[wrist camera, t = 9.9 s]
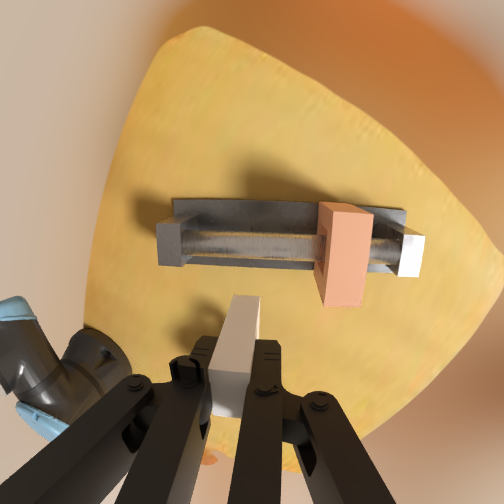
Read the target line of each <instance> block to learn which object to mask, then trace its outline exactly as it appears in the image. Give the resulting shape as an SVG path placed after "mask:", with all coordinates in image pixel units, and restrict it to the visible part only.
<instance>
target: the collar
mask: <svg viewBox="0 0 504 504" xmlns="http://www.w3.org/2000/svg"><path fill="white" fill-rule="evenodd" d="M373 217H374V214H372V213H369V212H367V211H365V210H363V209H360V208H358V207H356V206H354V205H351V204H348V203H334V202H320V201H319V209H318V225H317V235H327V243H326V254H325V262H315V263H314V277H315V280H316V283H317V286H318V290H319V293H320V296H321V300H322V303H323V306H324V307H361V302H362V297H363V291H364V285H365V279H366V273H367V267H368V260H369V253H370V245H371V236H372V227H373Z"/></svg>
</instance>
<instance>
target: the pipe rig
mask: <svg viewBox="0 0 504 504" xmlns="http://www.w3.org/2000/svg"><path fill="white" fill-rule="evenodd" d="M173 203H174V216H172V217H170V218H167V219H165V220H162V221H160V222H158V223H156V237H157V251H158V263H159V265H162V266H176V267H182V266H183V265H184V264H201V265H218V266H237V267H256V268H277V269H299V270H314V263H315V262H325V254H326V243H327V235H317V225H318V209H319V203H311V202H292V201H269V200H230V199H175V200H173ZM356 207H358V208H360V209H363V210H365V211H367V212H369V213H372V214H374V217H373V227H372V236H371V245H370V253H369V260H368V267H367V272H380V273H394V274H395V275H397V276H401V277H418V275H419V270H420V265H421V259H422V254H423V248H424V241H425V236H424V235H422V234H420V233H418V232H416V231H414V230H412V229H410V228H407V227H405V221H406V211H405V210H397V209H387V208H377V207H366V206H356Z"/></svg>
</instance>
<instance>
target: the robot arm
mask: <svg viewBox="0 0 504 504" xmlns="http://www.w3.org/2000/svg"><path fill="white" fill-rule="evenodd" d="M259 315H260V296H245V295H233V298H232V301H231V304H230V307H229V310H228V313H227V315H226V318H225V321H224V324H223V327H222V330H221V333H220V336H219V337H211V336H202V337H201V338H200V339H199V340H197V341H196V343H195V346H194V349H193V350H192V352H191V354H190V356H188V355H184V356H179V357H176V358H175V359H173V360H172V361H171V362H170V363H169V366H170V371H171V376H172V381H170V382H166V383H152V382H151V381H150V379H149V378H148V377H146V376H145V375H141V374H133V375H132V368H131V365H130V363H129V361H128V359H127V357H126V355H125V354H124V353H123V351H122V350H121V349H120V348H119V346H118V345H117V344H116V343H115V342H114V341H112V340H111V339H110V338H109V337H107V336H106V335H104V334H103V333H101V332H99V331H97V330H94V329H89V328H84V329H81V330H79V331H78V332H77V333H76V334H75V335H73V336H72V338H71V339H70V341H69V346H68V347H67V349H66V351H65V353H64V355H63V357H62V359H61V360H59V358H58V356H57V355H56V353H55V351H54V350H53V348H52V346H51V345H50V343H49V341H48V340H47V338H46V336H45V334H44V333H43V331H42V329H41V327H40V325H39V323H38V321H37V317H36V316H35V315H34V314H33V312H32V310H31V308H30V307H29V305H28V303H27V301H26V300H25V299H24V298H23V297H21V296H14V297H11V298H8V299H6V300H3V301H0V395H2V396H6V395H8V394H9V393H10V392H11V391H13V393H14V394H15V395H16V397H17V398H18V400H19V401H18V402H17V403H16V410H17V412H18V413H19V415H20V416H21V418H22V419H23V420H24V421H25V422H26V423H27V424H28V425H29V426H30V427H31V428H33V429H34V430H35V431H36V432H37V433H38V434H40V435H41V436H42V437H44V438H45V439H47V440H48V441H50V443H49V444H48V445H47V446H46V447H44V448H43V449H42V450H41V451H40V452H38V453H37V454H36V455H35V456H34V457H33V458H31V459H30V460H29V461H28V462H27V463H26V464H24V465H23V466H22V467H21V468H20V469H19V470H17V471H16V472H15V473H14V474H13V475H11V476H10V477H9V478H8V479H7V480H6V481H4V482H3V483H2V484H1V485H0V504H100V503H101V502H102V501H103V499H104V498H105V497H106V496H107V495H108V494H109V493H110V492H111V491H112V490H113V488H114V487H115V486H116V485H117V484H118V483H119V482H120V480H121V479H122V478H123V477H124V476H125V475H126V474H127V472H128V471H129V472H128V474H127V476H126V479H125V481H124V483H123V485H122V488H121V490H120V492H119V494H118V496H117V499H116V501H115V503H114V504H190V501H191V497H192V494H193V490H194V486H195V482H196V479H197V475H198V471H199V467H200V463H201V460H202V456H203V452H204V448H205V444H206V441H207V437H208V433H209V429H210V425H211V420H210V415H211V411H213V415H216V416H224V417H234V418H242V419H241V426H240V432H239V438H238V444H237V450H236V456H235V462H234V468H233V474H232V480H231V485H230V491H229V497H228V503H227V504H280V500H281V499H280V498H281V471H282V441H283V442H287V443H290V444H293V447H294V450H295V453H296V456H297V459H298V461H299V464H300V467H301V470H302V473H303V475H304V478H305V481H306V484H307V486H308V489H309V492H310V495H311V497H312V500H313V503H314V504H396V502H395V501H394V499H393V497H392V495H391V494H390V492H389V490H388V488H387V487H386V485H385V483H384V481H383V480H382V478H381V476H380V474H379V473H378V471H377V469H376V467H375V466H374V464H373V462H372V460H371V459H370V457H369V455H368V453H367V452H366V450H365V448H364V447H363V445H362V443H361V441H360V439H359V438H358V436H357V434H356V432H355V431H354V429H353V427H352V425H351V424H350V422H349V420H348V418H347V417H346V415H345V413H344V411H343V410H342V408H341V406H340V404H339V403H338V401H337V399H336V398H335V397H334V396H333V395H331V394H329V393H327V392H323V391H314V392H311V393H308V394H307V395H305V396H304V397H301V396H297V395H294V394H291V393H289V392H288V391H286V390H285V389H284V387H283V386H282V382H281V346H280V344H279V343H278V342H277V340H261V339H258V338H259Z"/></svg>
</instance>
